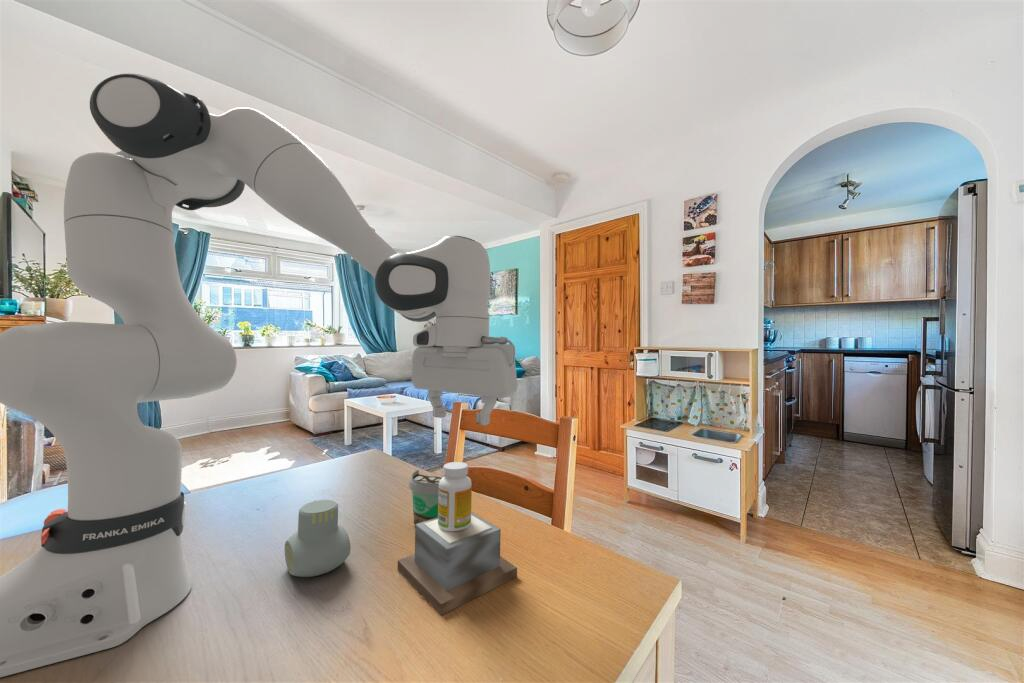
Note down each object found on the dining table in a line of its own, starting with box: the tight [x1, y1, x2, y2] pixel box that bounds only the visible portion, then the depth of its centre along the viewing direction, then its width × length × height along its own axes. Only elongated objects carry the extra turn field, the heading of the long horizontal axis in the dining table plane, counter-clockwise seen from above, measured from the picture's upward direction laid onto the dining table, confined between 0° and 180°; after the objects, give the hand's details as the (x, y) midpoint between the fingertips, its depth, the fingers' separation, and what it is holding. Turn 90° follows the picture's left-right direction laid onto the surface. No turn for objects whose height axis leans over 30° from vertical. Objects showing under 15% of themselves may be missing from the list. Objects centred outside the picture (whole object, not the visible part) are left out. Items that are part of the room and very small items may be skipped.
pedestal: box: [397, 511, 518, 616], centre depth 62 cm, size 14×14×8 cm
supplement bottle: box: [438, 461, 473, 532], centre depth 62 cm, size 5×5×10 cm
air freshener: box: [284, 499, 352, 578], centre depth 63 cm, size 11×8×10 cm
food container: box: [408, 469, 443, 525], centre depth 77 cm, size 12×6×10 cm, turn 62°
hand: (460, 420), depth 62 cm, fingers open, 8 cm apart
